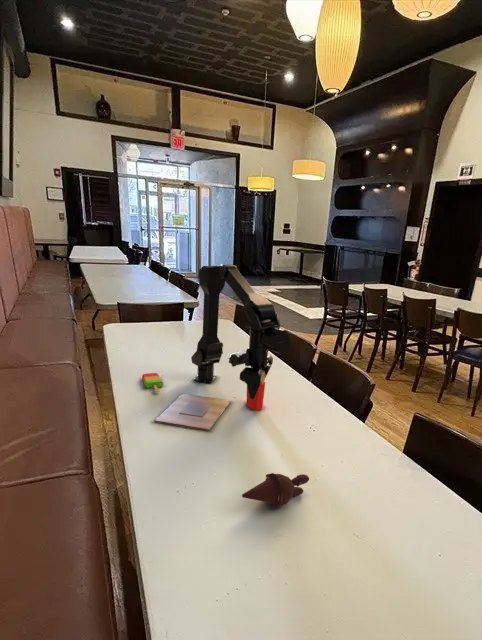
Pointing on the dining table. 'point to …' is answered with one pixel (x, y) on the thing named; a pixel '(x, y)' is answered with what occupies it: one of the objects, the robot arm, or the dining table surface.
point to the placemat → (193, 412)
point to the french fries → (257, 397)
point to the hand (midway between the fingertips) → (255, 393)
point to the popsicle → (152, 381)
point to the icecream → (277, 489)
